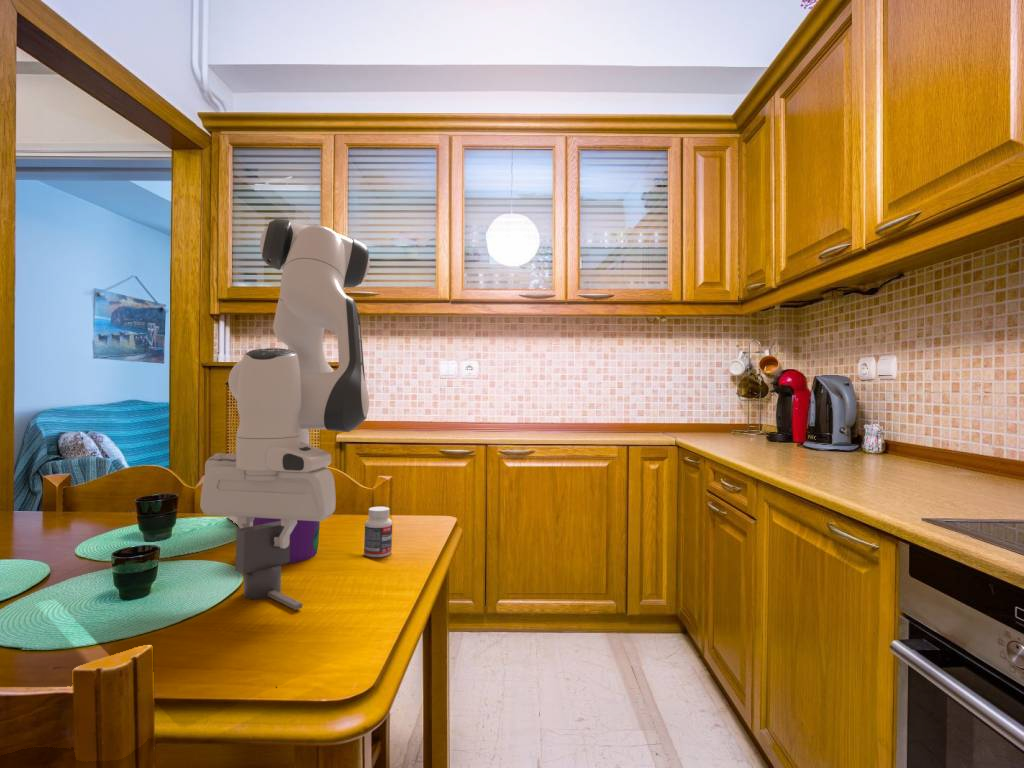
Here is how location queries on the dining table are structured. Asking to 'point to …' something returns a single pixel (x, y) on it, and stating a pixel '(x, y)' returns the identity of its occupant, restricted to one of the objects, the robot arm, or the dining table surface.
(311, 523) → the mug
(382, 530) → the pill bottle
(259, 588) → the grey block with rod
